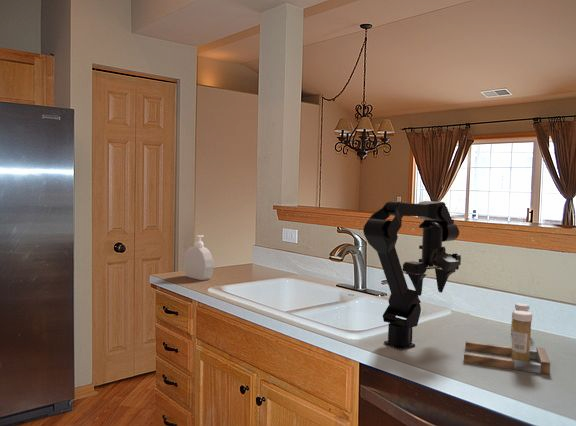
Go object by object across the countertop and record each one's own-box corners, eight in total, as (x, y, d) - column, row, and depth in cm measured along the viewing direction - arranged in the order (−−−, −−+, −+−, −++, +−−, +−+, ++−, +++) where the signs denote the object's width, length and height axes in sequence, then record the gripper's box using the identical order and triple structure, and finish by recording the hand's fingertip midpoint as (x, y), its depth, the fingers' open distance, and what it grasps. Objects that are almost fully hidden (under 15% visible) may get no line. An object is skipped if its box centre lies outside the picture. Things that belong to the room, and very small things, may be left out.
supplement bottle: (507, 332, 154) (508, 302, 153) (520, 331, 156) (521, 301, 155) (520, 338, 149) (522, 307, 148) (534, 336, 151) (535, 306, 150)
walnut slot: (463, 361, 128) (464, 350, 128) (465, 347, 139) (466, 337, 139) (549, 374, 120) (550, 362, 120) (544, 358, 131) (544, 347, 131)
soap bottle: (214, 279, 225) (214, 236, 223) (205, 281, 221) (205, 237, 219) (192, 274, 235) (193, 233, 234) (183, 276, 231) (184, 234, 230)
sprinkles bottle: (533, 363, 128) (536, 313, 127) (523, 367, 125) (526, 315, 124) (516, 358, 131) (519, 309, 130) (506, 361, 129) (509, 311, 128)
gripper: (431, 248, 135) (429, 303, 136) (474, 244, 145) (472, 296, 146) (402, 243, 145) (400, 295, 146) (444, 240, 155) (442, 288, 156)
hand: (430, 293), depth 148 cm, fingers open, 9 cm apart
